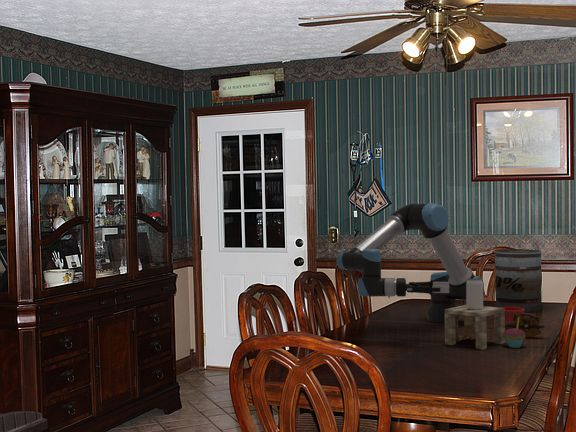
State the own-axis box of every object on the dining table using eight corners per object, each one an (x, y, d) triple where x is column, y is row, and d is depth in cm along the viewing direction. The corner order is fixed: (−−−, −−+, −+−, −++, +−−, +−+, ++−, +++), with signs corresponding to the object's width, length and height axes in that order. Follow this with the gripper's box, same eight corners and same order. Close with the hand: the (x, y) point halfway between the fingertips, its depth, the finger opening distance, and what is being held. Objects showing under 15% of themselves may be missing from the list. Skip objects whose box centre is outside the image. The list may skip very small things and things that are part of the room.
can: (464, 307, 317) (464, 278, 317) (480, 307, 317) (479, 277, 317) (469, 310, 310) (469, 279, 310) (485, 309, 311) (485, 279, 311)
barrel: (488, 307, 408) (487, 250, 408) (529, 305, 412) (528, 248, 411) (507, 314, 386) (506, 253, 385) (549, 312, 390) (549, 251, 389)
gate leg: (457, 342, 315) (457, 313, 315) (450, 341, 318) (450, 312, 318) (476, 338, 324) (476, 309, 323) (469, 337, 326) (469, 308, 326)
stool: (445, 344, 314) (444, 309, 314) (467, 338, 327) (467, 304, 326) (482, 349, 303) (482, 313, 302) (504, 342, 315) (504, 308, 314)
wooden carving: (503, 337, 326) (503, 313, 326) (504, 335, 330) (504, 312, 330) (545, 339, 320) (545, 315, 320) (545, 337, 325) (545, 313, 324)
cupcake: (526, 345, 310) (525, 314, 309) (525, 349, 302) (524, 318, 301) (503, 344, 312) (503, 314, 312) (502, 348, 304) (501, 317, 304)
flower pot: (525, 332, 335) (525, 310, 335) (499, 332, 338) (498, 310, 337) (523, 328, 346) (523, 306, 345) (497, 328, 348) (497, 306, 348)
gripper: (398, 292, 333) (449, 292, 328) (394, 300, 308) (449, 301, 304) (397, 274, 332) (449, 274, 328) (393, 281, 308) (448, 281, 304)
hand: (449, 287), depth 316 cm, fingers open, 13 cm apart
